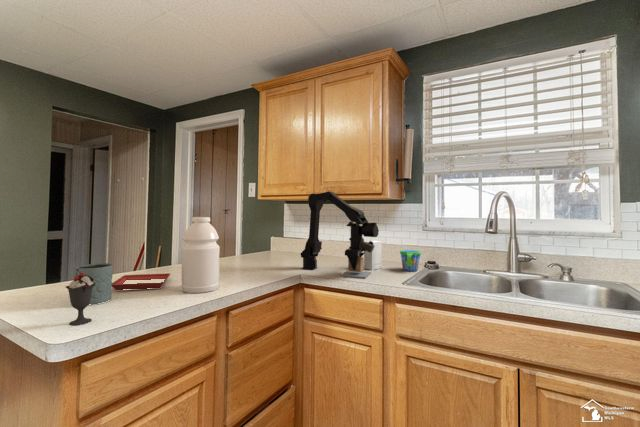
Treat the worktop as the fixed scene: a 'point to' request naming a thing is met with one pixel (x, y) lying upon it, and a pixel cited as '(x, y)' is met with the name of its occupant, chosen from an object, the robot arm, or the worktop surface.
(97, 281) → the blue-grey pot
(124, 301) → the worktop surface
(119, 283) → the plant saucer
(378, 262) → the skincare box
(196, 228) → the bottle
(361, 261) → the walnut cube
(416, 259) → the snack cup
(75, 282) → the sundae
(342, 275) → the slate mat
